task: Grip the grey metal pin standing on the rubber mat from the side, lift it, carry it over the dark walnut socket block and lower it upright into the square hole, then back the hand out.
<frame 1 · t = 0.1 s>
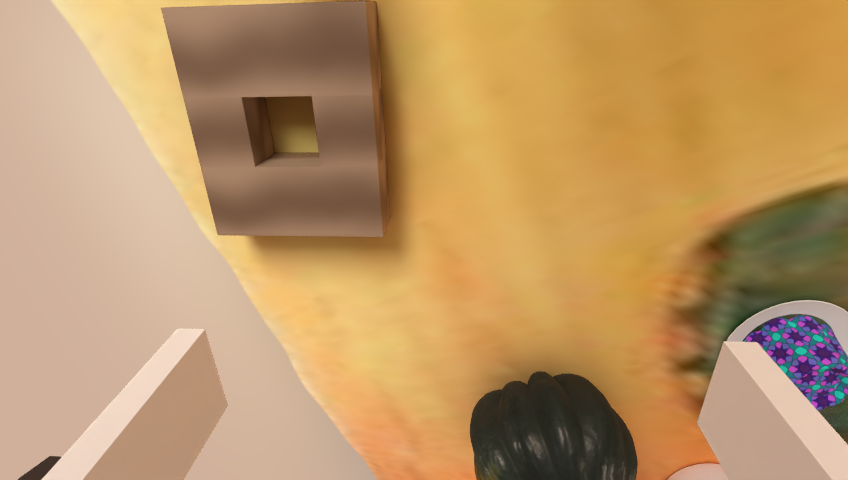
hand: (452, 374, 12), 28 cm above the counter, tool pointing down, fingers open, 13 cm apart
socket block: (299, 121, 38), on the counter
pudding: (781, 347, 44), on the counter
squash: (541, 402, 49), on the counter
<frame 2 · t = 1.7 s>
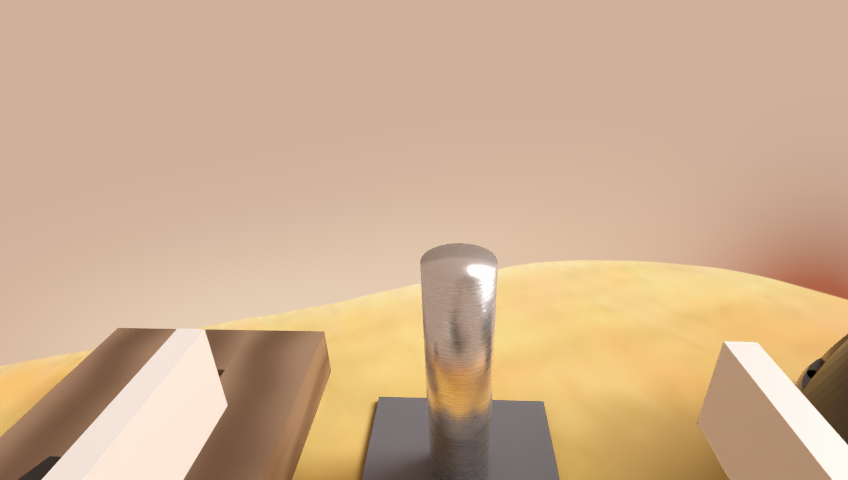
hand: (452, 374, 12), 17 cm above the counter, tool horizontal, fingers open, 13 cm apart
socket block: (185, 439, 32), on the counter
rubber mat: (459, 477, 28), on the counter
metal pin: (459, 473, 28), resting on rubber mat
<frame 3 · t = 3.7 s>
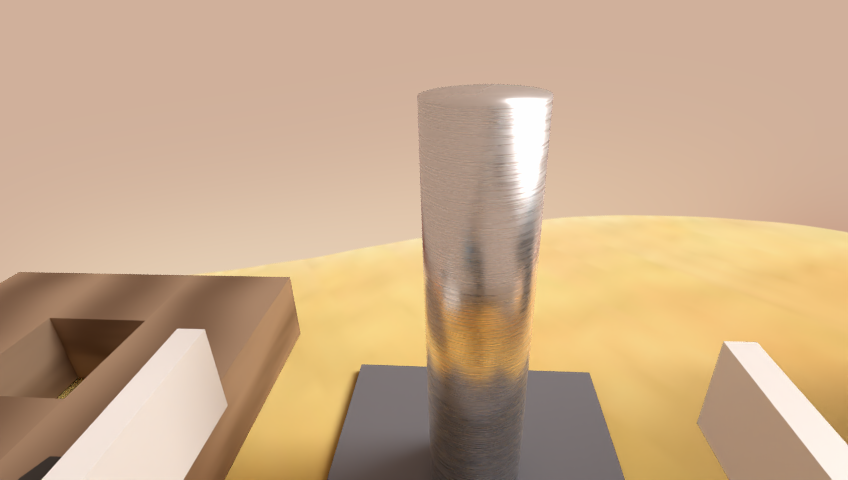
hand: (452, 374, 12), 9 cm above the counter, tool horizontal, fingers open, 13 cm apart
socket block: (87, 416, 23), on the counter
rubber mat: (474, 475, 19), on the counter
metal pin: (474, 469, 19), resting on rubber mat
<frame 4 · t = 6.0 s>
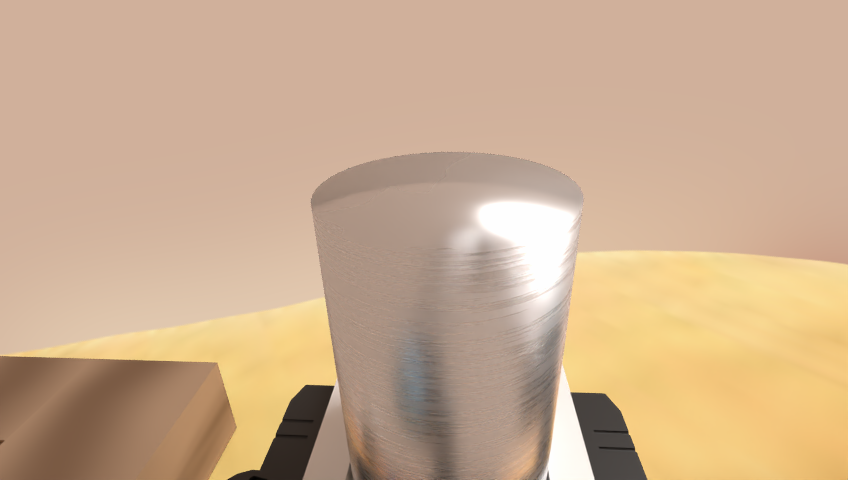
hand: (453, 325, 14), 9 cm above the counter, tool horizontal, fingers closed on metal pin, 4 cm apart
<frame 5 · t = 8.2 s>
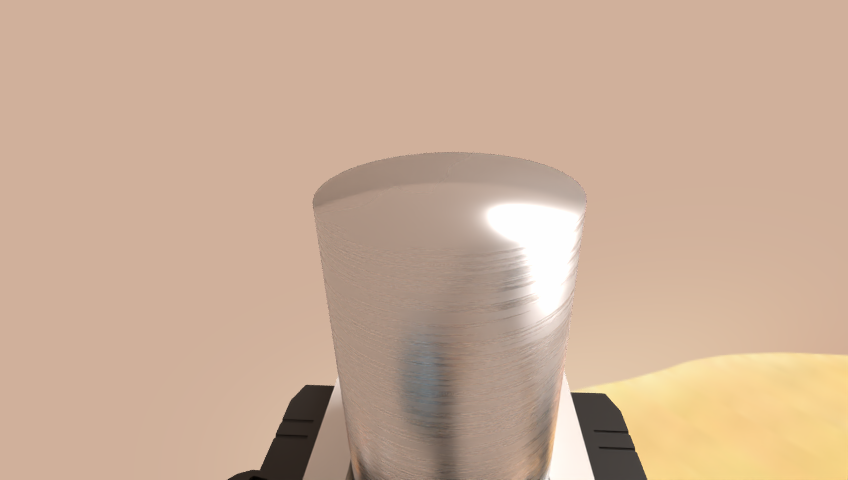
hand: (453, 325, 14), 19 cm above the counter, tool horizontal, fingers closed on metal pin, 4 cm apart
when the fingers open (10 cm above the counter, at t = 10.9 s): metal pin drops 1 cm, resting in socket block.
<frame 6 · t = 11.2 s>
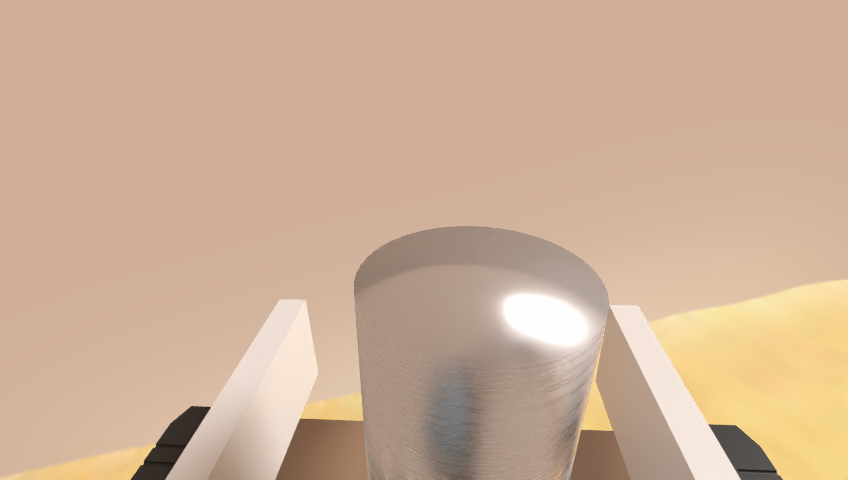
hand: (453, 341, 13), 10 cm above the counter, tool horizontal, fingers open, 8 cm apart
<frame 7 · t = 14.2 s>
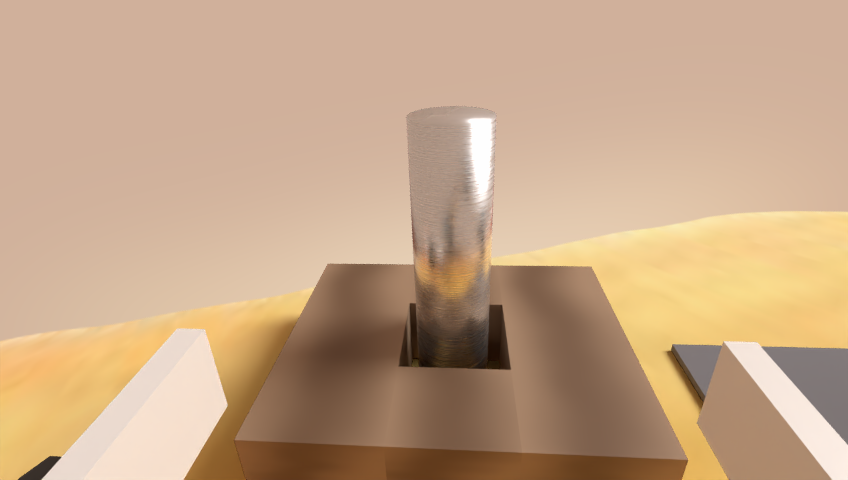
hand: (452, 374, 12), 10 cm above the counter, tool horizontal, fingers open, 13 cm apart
socket block: (454, 391, 25), on the counter
metal pin: (453, 392, 25), resting in socket block
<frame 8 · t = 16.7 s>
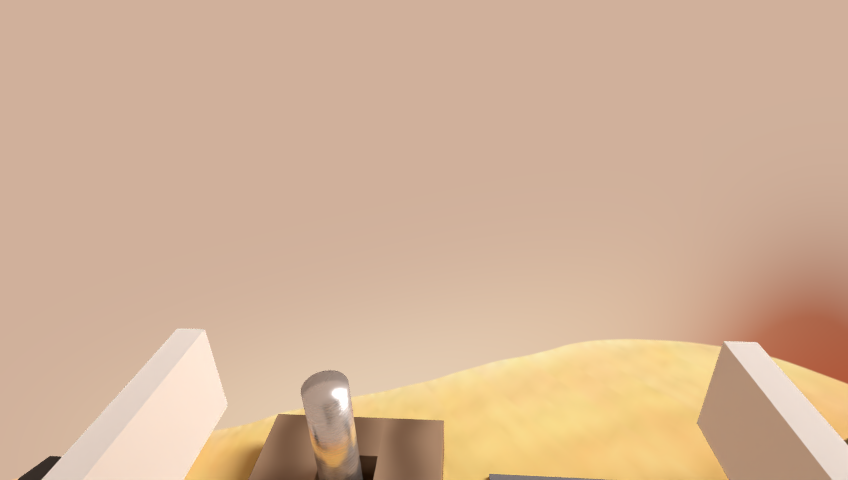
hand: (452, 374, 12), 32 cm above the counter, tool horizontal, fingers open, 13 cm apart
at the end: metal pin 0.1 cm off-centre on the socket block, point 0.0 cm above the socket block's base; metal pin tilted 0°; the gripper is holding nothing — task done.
